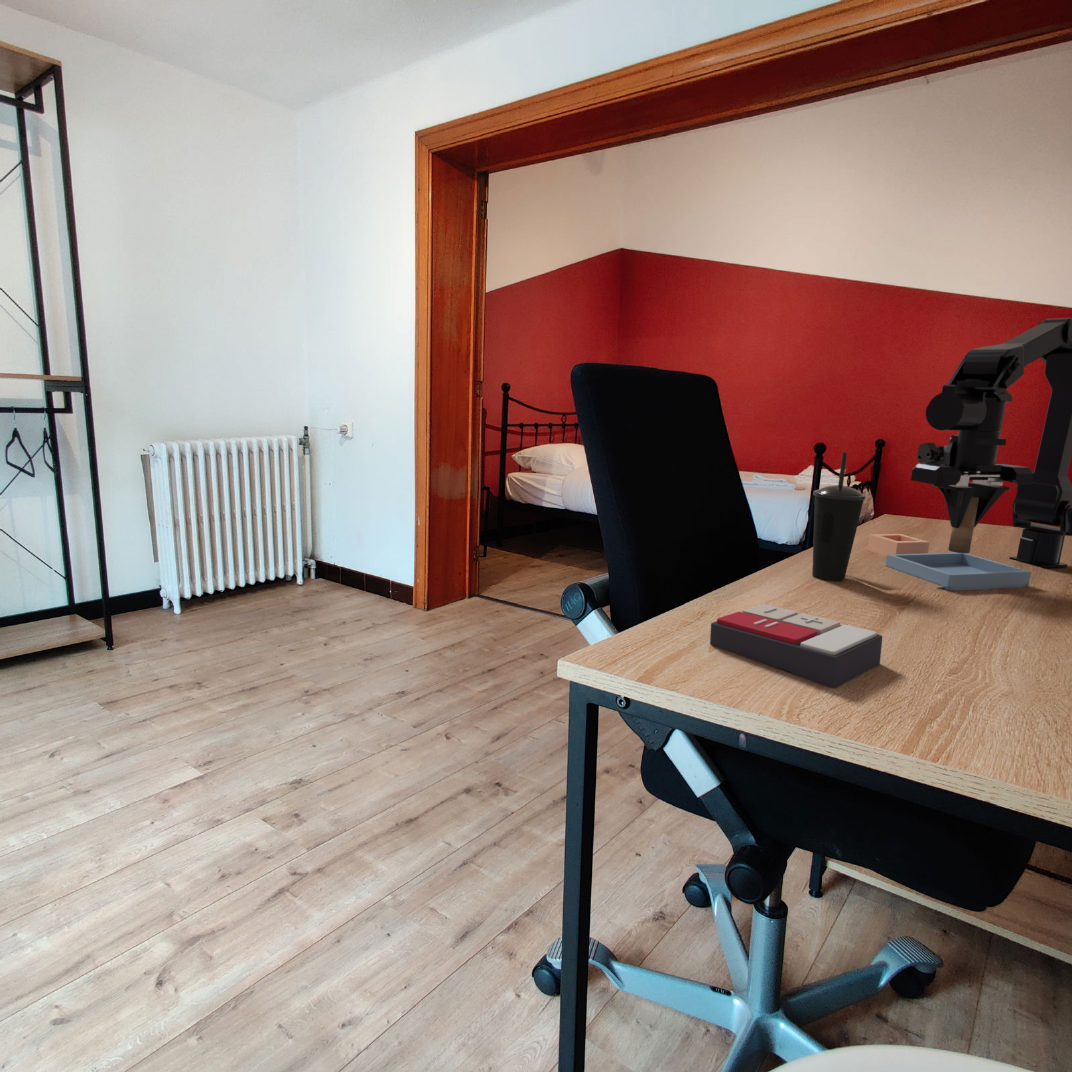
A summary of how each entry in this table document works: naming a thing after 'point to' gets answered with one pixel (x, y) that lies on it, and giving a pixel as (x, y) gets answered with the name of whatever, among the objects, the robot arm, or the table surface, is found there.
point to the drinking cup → (835, 527)
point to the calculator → (799, 643)
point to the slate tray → (959, 571)
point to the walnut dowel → (964, 529)
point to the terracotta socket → (896, 544)
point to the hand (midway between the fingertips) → (963, 527)
